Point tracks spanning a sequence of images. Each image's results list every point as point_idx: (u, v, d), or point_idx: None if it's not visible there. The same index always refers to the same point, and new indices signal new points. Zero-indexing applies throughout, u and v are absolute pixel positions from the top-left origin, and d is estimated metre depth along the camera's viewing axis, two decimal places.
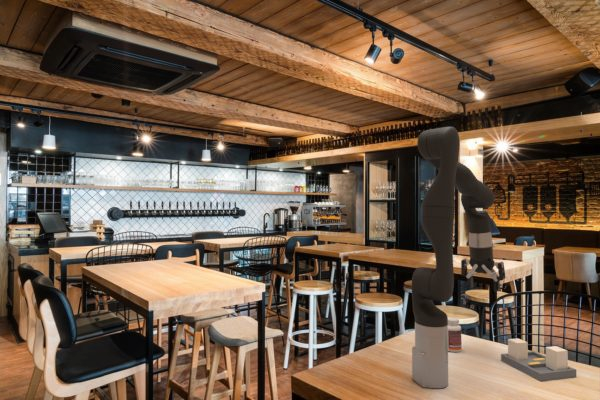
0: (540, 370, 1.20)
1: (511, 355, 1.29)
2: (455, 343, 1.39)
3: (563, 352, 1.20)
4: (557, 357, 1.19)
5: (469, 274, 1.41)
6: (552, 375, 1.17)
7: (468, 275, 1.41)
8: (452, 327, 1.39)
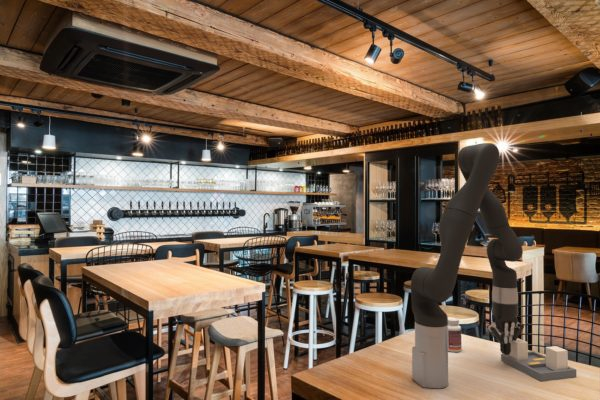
0: (540, 370, 1.20)
1: (511, 355, 1.29)
2: (455, 343, 1.39)
3: (563, 352, 1.20)
4: (557, 357, 1.19)
5: (505, 338, 1.26)
6: (552, 375, 1.17)
7: (506, 340, 1.26)
8: (452, 327, 1.39)
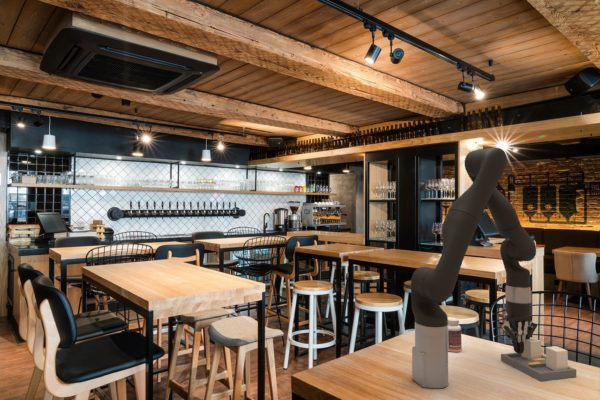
0: (540, 370, 1.20)
1: (524, 354, 1.30)
2: (455, 343, 1.39)
3: (563, 352, 1.20)
4: (557, 357, 1.19)
5: (519, 337, 1.28)
6: (552, 375, 1.17)
7: (520, 339, 1.28)
8: (452, 327, 1.39)
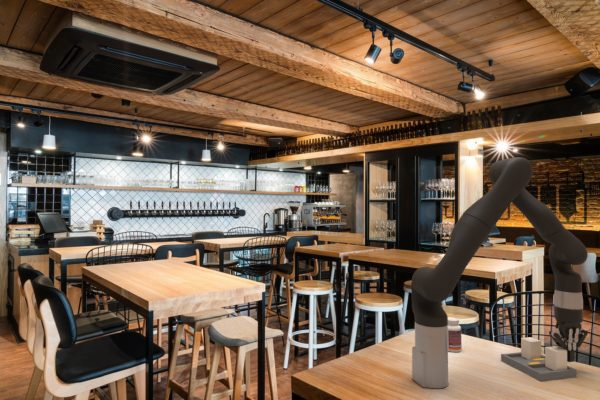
0: (540, 370, 1.20)
1: (524, 354, 1.30)
2: (455, 343, 1.39)
3: (562, 352, 1.20)
4: (556, 357, 1.19)
5: (569, 345, 1.21)
6: (552, 375, 1.17)
7: (570, 347, 1.21)
8: (452, 327, 1.39)
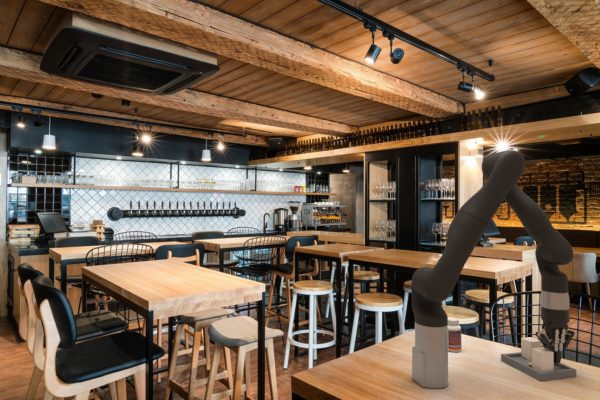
0: None
1: (524, 354, 1.30)
2: (455, 343, 1.39)
3: (549, 354, 1.18)
4: (542, 358, 1.18)
5: (556, 346, 1.20)
6: (552, 375, 1.17)
7: (557, 347, 1.20)
8: (452, 327, 1.39)
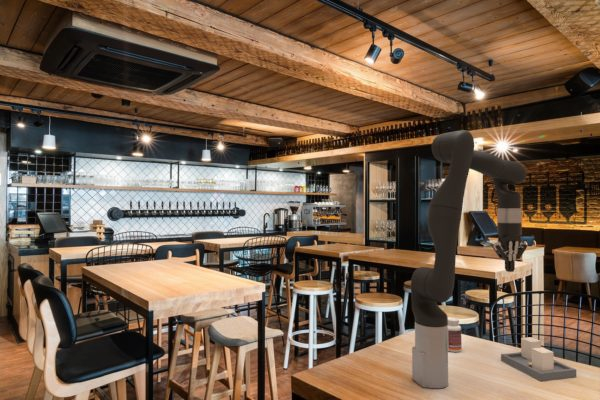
0: None
1: (524, 354, 1.30)
2: (455, 343, 1.39)
3: (549, 354, 1.18)
4: (542, 358, 1.18)
5: (509, 256, 1.35)
6: (552, 375, 1.17)
7: (510, 258, 1.35)
8: (452, 327, 1.39)
